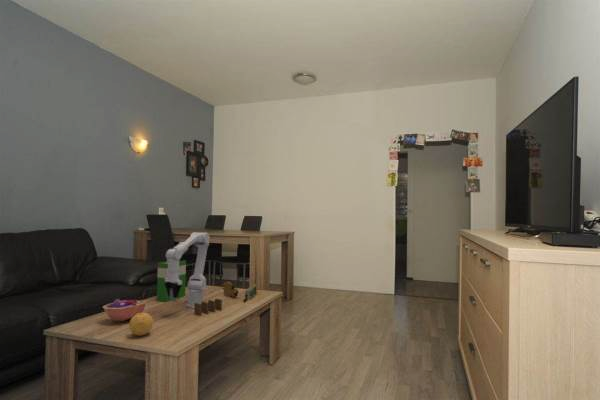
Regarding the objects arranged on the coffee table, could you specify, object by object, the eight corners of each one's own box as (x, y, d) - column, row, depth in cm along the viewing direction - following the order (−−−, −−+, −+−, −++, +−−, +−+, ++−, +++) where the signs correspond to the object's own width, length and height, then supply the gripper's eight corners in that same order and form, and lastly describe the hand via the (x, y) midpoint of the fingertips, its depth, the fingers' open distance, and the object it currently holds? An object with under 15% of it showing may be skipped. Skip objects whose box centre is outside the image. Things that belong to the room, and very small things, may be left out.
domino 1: (174, 301, 187) (174, 289, 187) (169, 299, 190) (169, 288, 190) (176, 300, 188) (176, 289, 188) (171, 299, 191) (171, 288, 191)
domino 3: (206, 314, 193) (206, 303, 193) (201, 312, 196) (201, 301, 196) (208, 313, 194) (208, 302, 194) (203, 312, 197) (203, 301, 197)
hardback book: (176, 295, 237) (177, 259, 238) (185, 296, 234) (185, 260, 236) (156, 301, 221) (157, 263, 222) (166, 302, 218) (166, 263, 219)
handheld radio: (257, 294, 243) (246, 303, 218) (252, 294, 244) (241, 303, 219) (257, 284, 243) (246, 292, 219) (252, 284, 244) (241, 292, 219)
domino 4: (213, 312, 196) (213, 301, 196) (208, 310, 199) (208, 300, 200) (215, 312, 197) (215, 301, 197) (209, 310, 200) (210, 299, 201)
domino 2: (199, 315, 189) (199, 304, 190) (194, 314, 193) (194, 303, 193) (201, 315, 190) (201, 304, 190) (196, 313, 193) (196, 302, 194)
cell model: (150, 320, 181) (150, 297, 182) (107, 328, 168) (107, 304, 169) (139, 313, 194) (140, 292, 195) (99, 320, 181) (99, 297, 182)
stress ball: (141, 330, 165) (141, 308, 165) (157, 333, 161) (158, 311, 162) (123, 337, 156) (124, 314, 156) (140, 340, 152) (141, 316, 153)
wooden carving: (240, 298, 230) (240, 282, 231) (235, 299, 227) (235, 283, 228) (225, 294, 241) (225, 279, 242) (219, 295, 238) (220, 280, 238)
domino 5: (220, 310, 200) (220, 300, 200) (214, 309, 203) (214, 298, 203) (221, 310, 200) (221, 299, 201) (216, 308, 204) (216, 298, 204)
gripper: (159, 270, 191) (159, 295, 191) (173, 273, 182) (173, 300, 181) (171, 269, 197) (171, 293, 196) (185, 272, 187) (185, 297, 187)
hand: (172, 296), depth 189 cm, fingers closed on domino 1, 5 cm apart
